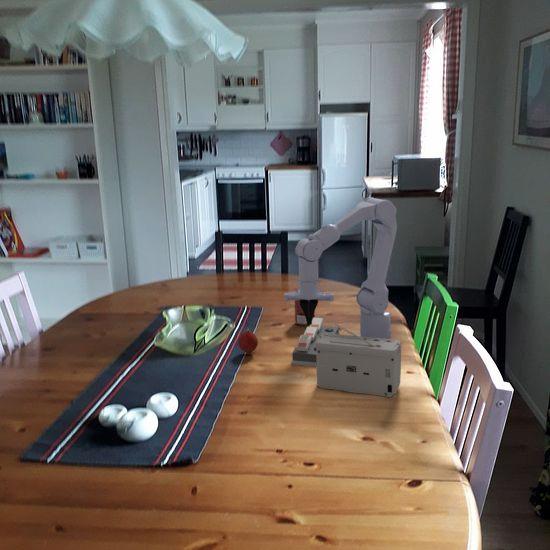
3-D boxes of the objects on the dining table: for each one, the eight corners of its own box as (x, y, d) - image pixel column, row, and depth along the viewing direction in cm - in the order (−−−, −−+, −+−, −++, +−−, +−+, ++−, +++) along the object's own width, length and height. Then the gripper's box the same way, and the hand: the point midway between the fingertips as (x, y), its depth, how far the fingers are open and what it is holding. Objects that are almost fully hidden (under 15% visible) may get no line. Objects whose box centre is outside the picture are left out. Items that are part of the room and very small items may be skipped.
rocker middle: (317, 330, 172) (317, 327, 172) (313, 340, 167) (313, 336, 166) (307, 329, 173) (307, 326, 172) (303, 339, 168) (302, 336, 167)
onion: (235, 355, 166) (234, 330, 164) (245, 349, 171) (244, 324, 169) (252, 359, 164) (251, 333, 162) (261, 352, 169) (260, 327, 166)
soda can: (307, 328, 188) (307, 293, 185) (291, 324, 192) (290, 290, 189) (318, 322, 193) (318, 289, 190) (302, 318, 197) (301, 286, 194)
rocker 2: (323, 321, 179) (323, 318, 179) (319, 332, 174) (319, 328, 174) (313, 320, 180) (313, 317, 180) (309, 331, 175) (309, 327, 175)
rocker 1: (311, 339, 165) (311, 335, 164) (307, 351, 160) (306, 347, 159) (301, 338, 165) (301, 334, 165) (296, 350, 161) (296, 346, 160)
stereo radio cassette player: (400, 386, 144) (402, 312, 139) (396, 400, 136) (398, 323, 131) (322, 376, 151) (321, 306, 146) (313, 390, 143) (312, 316, 138)
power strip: (339, 333, 181) (339, 322, 181) (322, 367, 156) (321, 355, 155) (312, 331, 184) (312, 321, 183) (291, 364, 159) (290, 352, 158)
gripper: (333, 276, 166) (334, 319, 170) (285, 276, 168) (286, 318, 172) (333, 282, 160) (333, 327, 163) (282, 282, 162) (284, 326, 165)
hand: (309, 323), depth 167 cm, fingers closed
